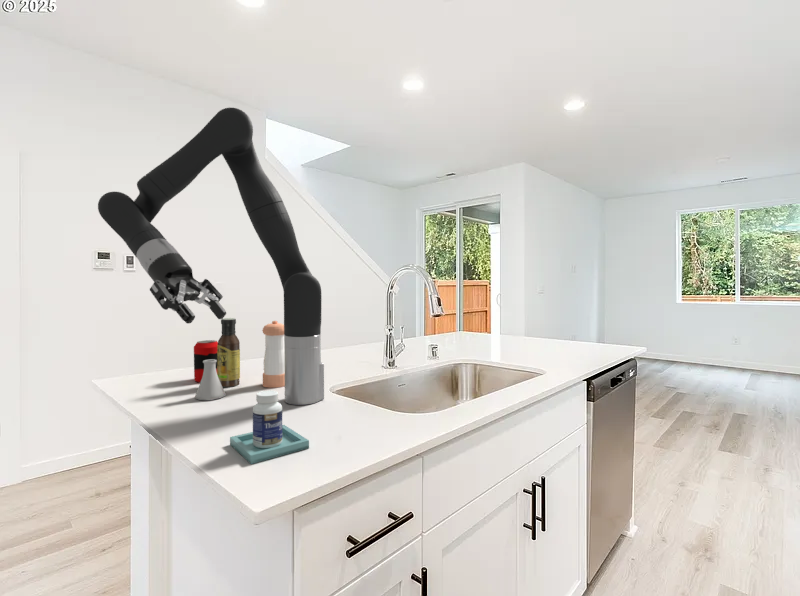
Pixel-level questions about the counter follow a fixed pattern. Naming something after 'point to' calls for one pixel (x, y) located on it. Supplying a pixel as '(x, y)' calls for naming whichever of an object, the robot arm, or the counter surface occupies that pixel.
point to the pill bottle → (267, 420)
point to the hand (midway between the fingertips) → (208, 318)
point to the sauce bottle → (228, 354)
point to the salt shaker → (274, 355)
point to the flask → (210, 383)
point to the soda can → (203, 356)
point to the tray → (253, 454)
